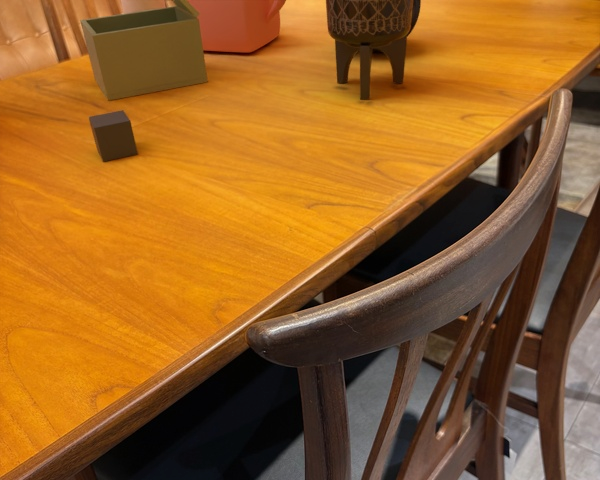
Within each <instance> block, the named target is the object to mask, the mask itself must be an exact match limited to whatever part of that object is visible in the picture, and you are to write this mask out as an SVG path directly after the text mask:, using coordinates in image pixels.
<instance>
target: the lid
mask: <svg viewBox="0 0 600 480" xmlns="http://www.w3.org/2000/svg"><path fill="white" fill-rule="evenodd" d="M171 2H172V3H173V4H174V5H175V6H179V7H180V8H182V9H183V10H185V11H187V12H188V13H190V14H192V15H193V16H195V17H196V18H197V17H198V15H199V14H200V13H199V12H198V11H197V10H196V9H195V8H194V7H193V6H192V5H191V4H190V3H189V2H188V1H187V0H171Z"/></svg>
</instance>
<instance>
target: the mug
mask: <svg viewBox="0 0 600 480" xmlns="http://www.w3.org/2000/svg"><path fill="white" fill-rule="evenodd" d="M120 4H121V10H122V14H125V13H132V12H139V11H146V10H153V9H159V8H166V7H167V6H166V0H120Z"/></svg>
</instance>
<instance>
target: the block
mask: <svg viewBox="0 0 600 480" xmlns="http://www.w3.org/2000/svg"><path fill="white" fill-rule="evenodd" d="M88 121H89V125H90V129H91V131H92V136H93V139H94V144H95V147H96V150H97V154H99V157H100V158H101V161H102V162H109V161H114V160H118V159H123V158H127V157H131V156H136V155H139V152H138V149H137V148H138V147H137V144H136V140H135V135H134V129H133V125H132V122H131V120H130V118H129V116H128V115H127V114H126V112H125V111H124V110H123V109H121V110H117V111H116V110H115V111H112V112H111V111H110V112H106V113H102V114H96V115H90V116H88Z"/></svg>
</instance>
